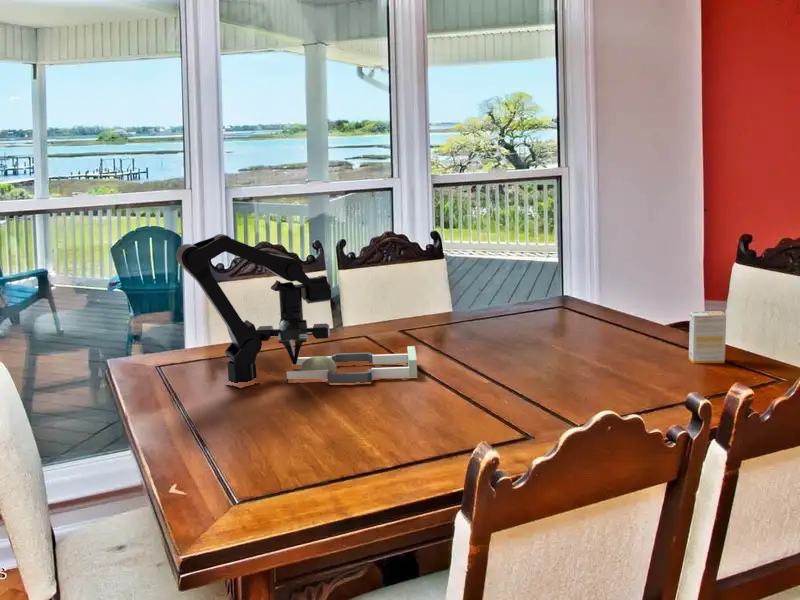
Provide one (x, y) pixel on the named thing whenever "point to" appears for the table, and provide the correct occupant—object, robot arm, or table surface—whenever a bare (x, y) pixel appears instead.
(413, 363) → the end block
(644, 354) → the table surface
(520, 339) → the table surface
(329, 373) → the trap lane
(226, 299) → the robot arm
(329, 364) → the sea urchin shell
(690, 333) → the supplement box
